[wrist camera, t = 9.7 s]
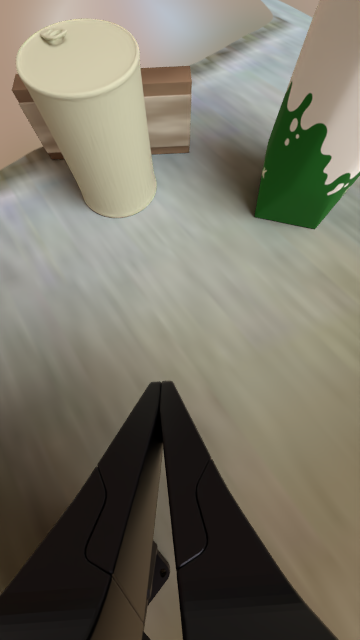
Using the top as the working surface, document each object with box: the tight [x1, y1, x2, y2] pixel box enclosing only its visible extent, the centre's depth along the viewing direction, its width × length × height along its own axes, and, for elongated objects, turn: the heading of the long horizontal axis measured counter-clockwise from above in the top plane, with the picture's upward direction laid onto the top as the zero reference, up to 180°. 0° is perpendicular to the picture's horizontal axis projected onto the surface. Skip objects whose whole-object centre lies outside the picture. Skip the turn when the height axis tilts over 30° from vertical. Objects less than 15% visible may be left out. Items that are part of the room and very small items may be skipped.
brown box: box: [12, 66, 192, 159], centre depth 25 cm, size 3×18×7 cm, turn 93°
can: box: [16, 19, 157, 218], centre depth 21 cm, size 9×9×12 cm
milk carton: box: [255, 0, 360, 229], centre depth 17 cm, size 9×9×20 cm
